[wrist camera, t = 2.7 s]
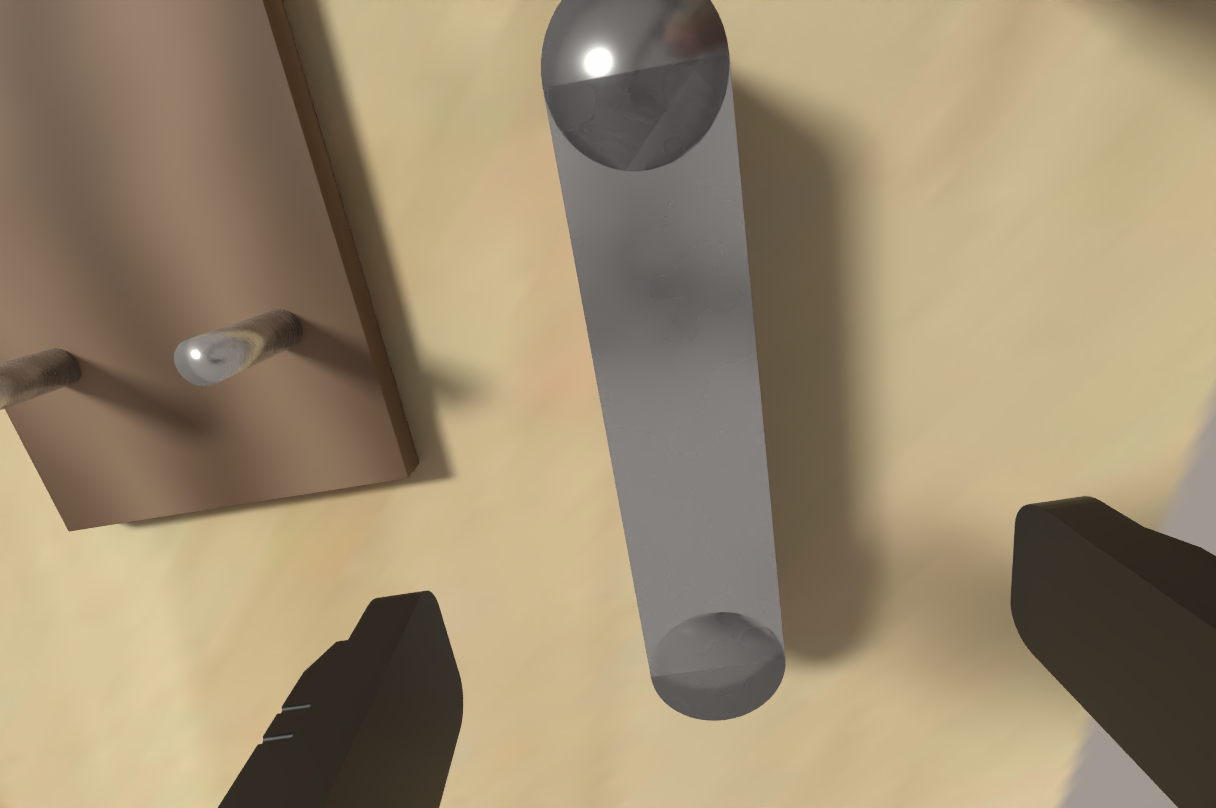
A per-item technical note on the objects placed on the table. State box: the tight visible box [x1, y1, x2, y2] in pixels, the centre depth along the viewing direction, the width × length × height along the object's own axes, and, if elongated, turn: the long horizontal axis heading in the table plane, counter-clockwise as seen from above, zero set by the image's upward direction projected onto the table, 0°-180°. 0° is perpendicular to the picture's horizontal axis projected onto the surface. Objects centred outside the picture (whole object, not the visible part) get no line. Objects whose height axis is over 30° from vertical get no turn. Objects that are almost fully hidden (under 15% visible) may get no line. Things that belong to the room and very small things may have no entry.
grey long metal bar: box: [541, 0, 785, 720], centre depth 18 cm, size 4×20×5 cm, turn 10°
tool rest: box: [0, 0, 419, 531], centre depth 15 cm, size 12×24×5 cm, turn 10°
